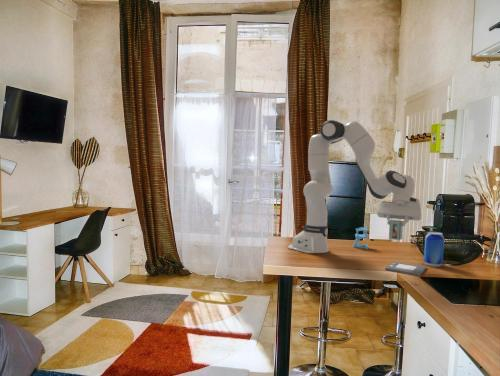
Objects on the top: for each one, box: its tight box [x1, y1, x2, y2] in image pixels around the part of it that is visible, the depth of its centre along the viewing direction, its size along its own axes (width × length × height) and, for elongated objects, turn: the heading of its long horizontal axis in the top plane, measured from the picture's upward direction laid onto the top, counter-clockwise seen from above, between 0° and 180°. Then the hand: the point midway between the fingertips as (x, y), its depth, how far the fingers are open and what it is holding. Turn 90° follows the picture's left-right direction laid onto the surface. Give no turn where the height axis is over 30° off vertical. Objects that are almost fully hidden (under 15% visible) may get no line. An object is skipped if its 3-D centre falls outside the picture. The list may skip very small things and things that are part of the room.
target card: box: [385, 260, 427, 277], centre depth 183 cm, size 15×16×1 cm
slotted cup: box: [388, 219, 404, 241], centre depth 187 cm, size 5×5×8 cm
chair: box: [352, 226, 369, 250], centre depth 228 cm, size 8×8×12 cm
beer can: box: [423, 231, 445, 268], centre depth 193 cm, size 8×8×16 cm
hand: (396, 224), depth 186 cm, fingers closed on slotted cup, 5 cm apart
